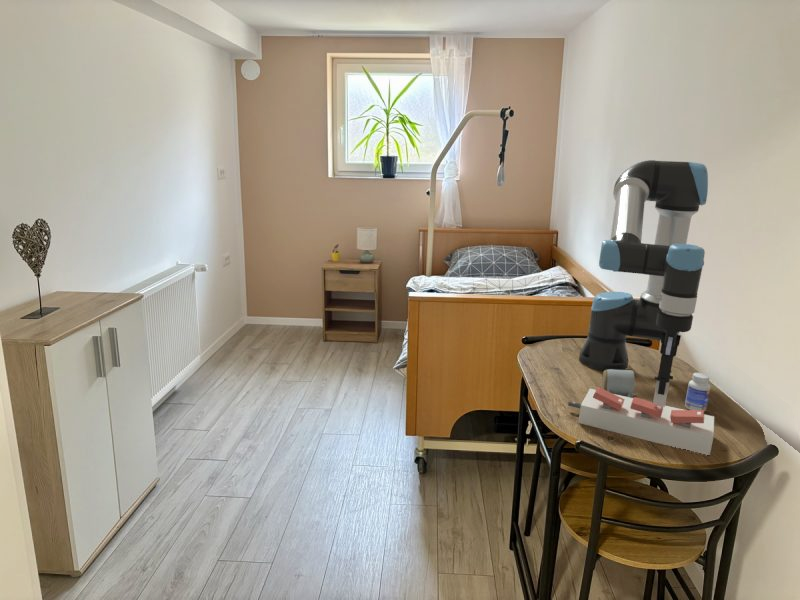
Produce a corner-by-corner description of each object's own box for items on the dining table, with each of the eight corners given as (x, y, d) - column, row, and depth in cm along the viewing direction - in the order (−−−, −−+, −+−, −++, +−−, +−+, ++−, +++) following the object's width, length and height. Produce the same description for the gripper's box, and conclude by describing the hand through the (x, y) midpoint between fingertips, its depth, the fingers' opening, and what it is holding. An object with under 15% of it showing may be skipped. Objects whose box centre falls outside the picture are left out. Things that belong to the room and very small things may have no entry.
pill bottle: (707, 414, 158) (714, 380, 155) (685, 410, 160) (691, 377, 157) (704, 406, 163) (711, 373, 160) (683, 402, 165) (689, 370, 162)
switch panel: (572, 401, 162) (575, 381, 160) (710, 434, 147) (714, 412, 145) (562, 418, 152) (565, 397, 150) (709, 456, 136) (714, 432, 135)
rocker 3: (672, 416, 143) (671, 409, 143) (704, 416, 140) (703, 409, 140) (671, 422, 140) (670, 416, 140) (703, 423, 136) (703, 416, 136)
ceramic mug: (599, 387, 172) (603, 363, 170) (629, 391, 170) (633, 366, 168) (603, 403, 162) (607, 377, 160) (634, 407, 161) (639, 381, 158)
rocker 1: (595, 391, 151) (598, 386, 150) (622, 404, 148) (624, 399, 148) (592, 397, 148) (595, 391, 147) (619, 410, 145) (622, 405, 144)
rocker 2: (632, 402, 147) (634, 396, 147) (661, 411, 144) (663, 405, 144) (630, 408, 144) (631, 402, 143) (660, 418, 141) (662, 412, 140)
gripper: (660, 302, 143) (645, 391, 150) (655, 315, 132) (639, 411, 139) (694, 307, 140) (677, 398, 146) (692, 321, 129) (673, 419, 135)
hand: (659, 404), depth 142 cm, fingers closed
